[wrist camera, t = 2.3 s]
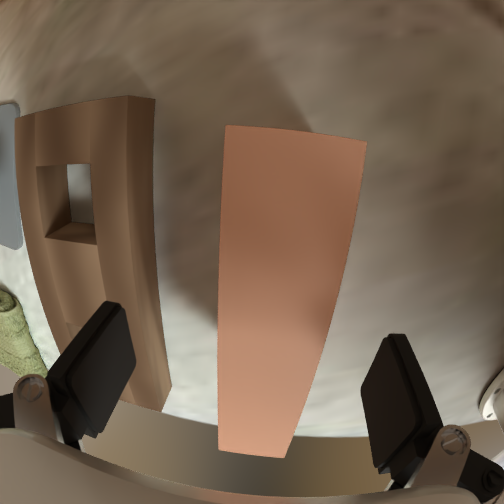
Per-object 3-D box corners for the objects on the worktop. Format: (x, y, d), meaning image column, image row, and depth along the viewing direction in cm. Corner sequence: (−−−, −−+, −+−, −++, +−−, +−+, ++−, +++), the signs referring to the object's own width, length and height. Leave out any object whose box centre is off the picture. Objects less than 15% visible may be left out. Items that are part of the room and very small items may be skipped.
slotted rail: (155, 99, 14) (128, 95, 11) (171, 386, 23) (161, 412, 20) (45, 115, 14) (14, 118, 12) (87, 361, 23) (73, 382, 21)
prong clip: (326, 135, 14) (367, 141, 6) (289, 360, 20) (283, 457, 13) (257, 127, 14) (225, 124, 7) (240, 354, 20) (218, 449, 13)
